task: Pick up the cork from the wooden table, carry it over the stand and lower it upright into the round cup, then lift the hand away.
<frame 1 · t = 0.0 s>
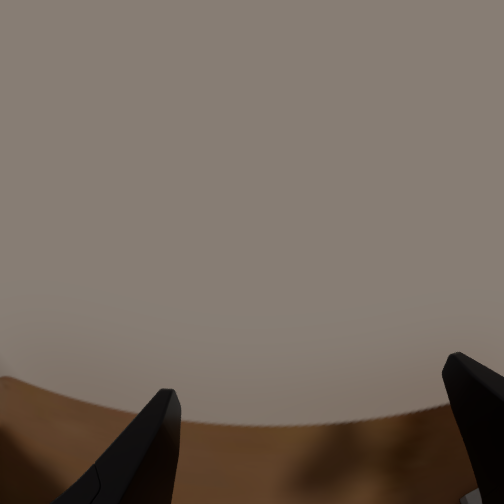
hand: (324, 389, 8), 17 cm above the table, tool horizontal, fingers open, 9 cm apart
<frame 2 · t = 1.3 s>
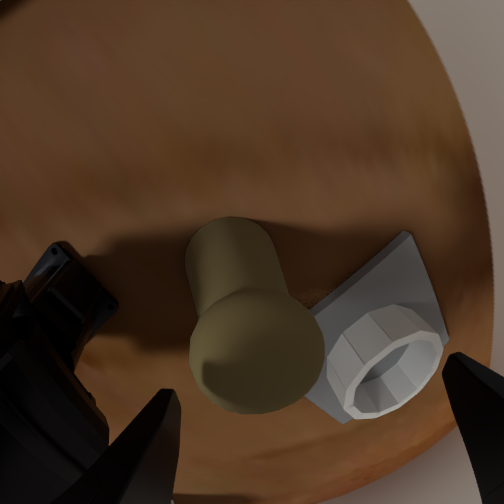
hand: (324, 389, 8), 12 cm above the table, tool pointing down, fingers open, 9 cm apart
cup stand: (370, 345, 25), on the table
cork: (230, 260, 20), on the table
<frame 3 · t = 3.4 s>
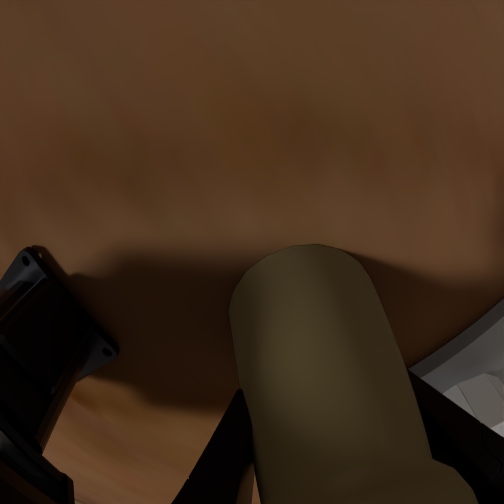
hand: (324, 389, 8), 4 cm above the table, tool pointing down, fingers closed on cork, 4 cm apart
cup stand: (440, 412, 16), on the table
cork: (303, 311, 12), on the table, touching gripper
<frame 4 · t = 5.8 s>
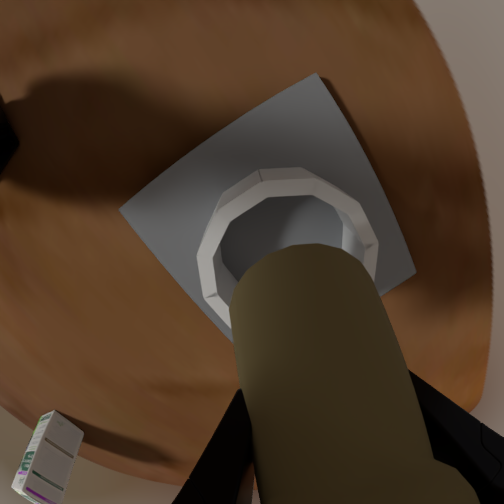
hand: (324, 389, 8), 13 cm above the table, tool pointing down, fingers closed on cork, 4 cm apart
cup stand: (281, 237, 20), on the table
syrup box: (63, 423, 31), on the table
cork: (304, 310, 12), point 9 cm above the table, touching gripper
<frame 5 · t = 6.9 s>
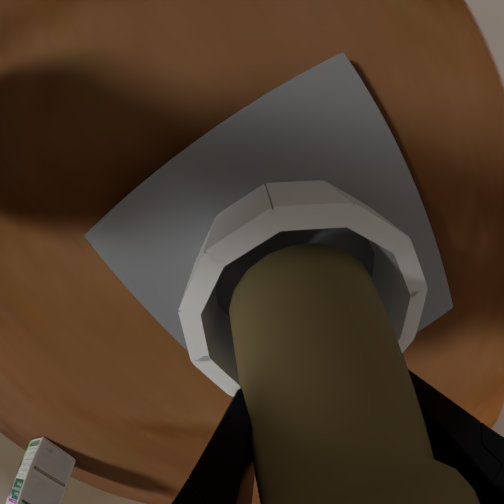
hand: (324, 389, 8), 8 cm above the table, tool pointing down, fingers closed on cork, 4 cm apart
cup stand: (293, 270, 15), on the table
syrup box: (53, 448, 26), on the table
cork: (304, 310, 12), point 4 cm above the table, touching gripper
when the fingers open (6 cm above the table, at t = 8.0 s): cork drops 1 cm, resting on cup stand.
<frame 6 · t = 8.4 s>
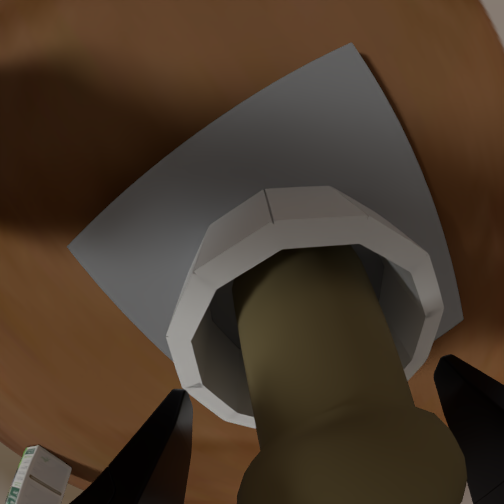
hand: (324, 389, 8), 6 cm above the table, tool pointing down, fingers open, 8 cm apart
cup stand: (295, 284, 14), on the table
syrup box: (49, 456, 25), on the table
cork: (299, 290, 13), point 1 cm above the table, touching cup stand
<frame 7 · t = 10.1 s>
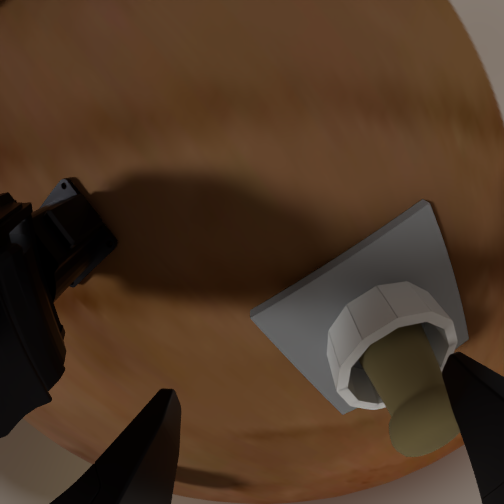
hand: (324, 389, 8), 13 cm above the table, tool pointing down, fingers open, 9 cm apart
cup stand: (380, 327, 23), on the table
cork: (384, 331, 22), point 1 cm above the table, touching cup stand
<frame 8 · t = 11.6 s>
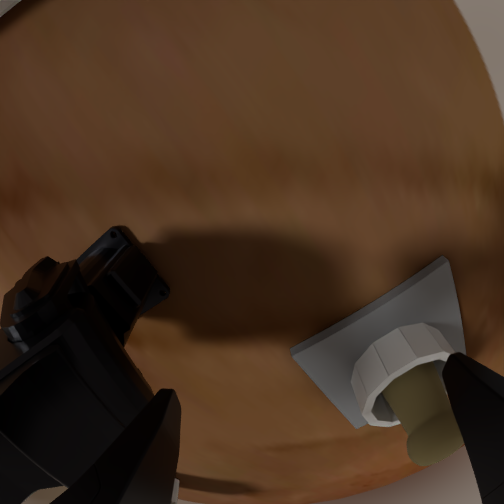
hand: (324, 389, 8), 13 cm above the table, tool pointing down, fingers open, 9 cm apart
cup stand: (395, 357, 25), on the table
syrup box: (156, 474, 36), on the table
cork: (399, 361, 24), point 1 cm above the table, touching cup stand
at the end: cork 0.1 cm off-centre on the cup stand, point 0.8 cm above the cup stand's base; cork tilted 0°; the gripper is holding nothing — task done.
